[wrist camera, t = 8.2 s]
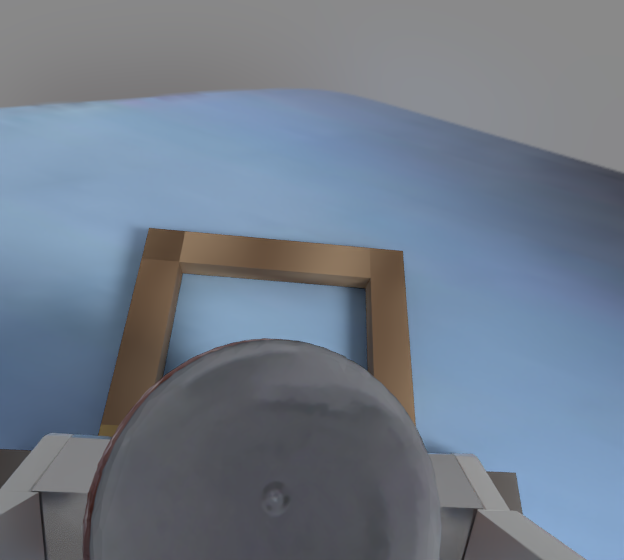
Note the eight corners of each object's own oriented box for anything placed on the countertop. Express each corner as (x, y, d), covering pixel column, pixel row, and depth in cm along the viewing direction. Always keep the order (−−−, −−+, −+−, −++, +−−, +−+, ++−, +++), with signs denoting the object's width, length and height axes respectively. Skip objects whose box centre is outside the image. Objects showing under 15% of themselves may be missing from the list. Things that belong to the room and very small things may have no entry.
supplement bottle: (161, 434, 16) (-6, 301, 6) (322, 397, 17) (422, 234, 7) (181, 640, 13) (-62, 1077, 3) (369, 578, 14) (635, 740, 4)
